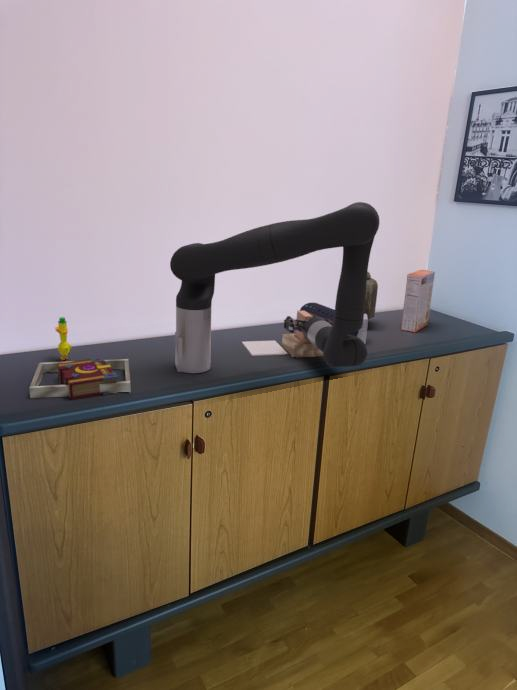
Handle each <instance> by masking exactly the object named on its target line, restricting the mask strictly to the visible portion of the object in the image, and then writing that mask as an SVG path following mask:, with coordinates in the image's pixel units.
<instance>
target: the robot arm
mask: <svg viewBox="0 0 517 690" xmlns="http://www.w3.org/2000/svg"><path fill="white" fill-rule="evenodd" d="M379 227H380V215H379V213H378V211H377V209H376V208H375V207H374V206H372V205H371V204H370V203H368V202H363V201H357V202H353V203H352V204H350V205H347V206H345V207H343V208H340V209H338V210H336V211H333V212H330V213H327V214H324V215H321V216H318V217H313V218H307V219H295V220H294V219H293V220H286V221H281V222H280V221H279V222H275V223H269V224H266V225H262V226H258V227H255V228H252V229H249V230H246V231H243V232H240V233H238V234H235V235H232V236H230V237H228V238H225V239H222V240H219V241H215V242H211V243H210V242H209V243H201V242H195V243H190V244H186V245H183V246H181V247H179V248H177V249H176V251H174V253H173V254H172V257H171V259H170V262H169V268H170V270H171V272H172V274H173V276H174V277H175V278H176V279H178V280H180V281H181V284H180V288H179V291H178V293H177V294H176V298H175V332H174V349H175V350H174V355H175V356H174V365H175V369H176V371H177V373H186V374H200V373H205V372H208V371H209V370H210V369H211V361H212V360H211V351H212V350H211V349H212V348H211V345H212V344H211V342H212V305H213V304H212V303H213V301H212V300H213V298H214V294H215V283H216V275H217V274H219V273H224V272H227V271H236V270H244V269H251V268H258V267H263V266H269V265H270V266H271V265H273V264H278V263H283V262H286V261H290V260H294V259H296V258H301V257H303V256H306V255H309V254H312V253H315V252H317V251H322V250H328V249H334V248H335V249H336V248H342V262H341V264H342V265H341V269H340V270H341V271H340V276H339V280H338V286H337V290H336V297H335V305H334V310H335V316H334V322H333V321H331V320H330V319H328V318H326V319H325V320H324V319H323V318H320V317H317V316H313V318H311V319H309V320H302V319H297V318H293V317H291V316H290V315H287V316H286V317H285V319H284V320H283V322H284V323H283V329H285V330H286V331H287V332H289V334H295V332H296V331H300V332H302V333H303V335H304V337H305V339H306V340H308V341H309V342H310V343H311V344H312V345H314V346H315V347H316V348H318V349H320V350H321V351H322V352H323V358H324V362H325V363H326V364H327V365H328V366H329V367H331V368H347V367H359V366H360V365H362V364H363V363H364V362H365V361H366V360H367V358H368V348H367V345H366V344H364V342H363V341H362V340H361V339H359V338H358V337H356V336H353V335H349V333H352V332H355V331H358V330H360V329H361V328H362V325H363V318H364V310H365V300H366V284H367V272H369V270H368V269H369V261H370V257H371V253H372V252H371V251H372V247H373V244H374V240H375V236H376V234H377V232H378V230H379ZM299 322H301V323H300V324H299Z"/></svg>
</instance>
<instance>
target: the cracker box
mask: <svg viewBox="0 0 517 690" xmlns="http://www.w3.org/2000/svg"><path fill="white" fill-rule="evenodd" d="M435 274H436V271H433V270H428V269H419V270H416V271H414V272H411V273H408V274H407V275H406V285H405V292H404V293H405V294H404V303H403V309H402V319H401V327H400V330H401V331H403V330H404V332H410V333H417V332H419V331H420V330H422V329H424V328H425V327H426V326H428V325H429V317H430V310H431V303H432V297H433V296H432V295H433V288H434V283H435V282H434V280H435Z"/></svg>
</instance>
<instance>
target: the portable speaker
mask: <svg viewBox="0 0 517 690" xmlns="http://www.w3.org/2000/svg"><path fill="white" fill-rule="evenodd" d="M299 311H306V312H307V313H309V314H310V315H312V316H317V317H320V318H323V319H324V320H325V319H326V318H328V319H330V320H331V321H333V322H334V316H335V308H334V309H333V308H331V307H329V306H326V305H323V304H320V303H319V302H318V303H317V302H307V303H305V304H303V305H302V306H301V307H300V309H299ZM358 331H359V330H358ZM358 331H355V332H352V333H349V335H353V336H357V334H358Z"/></svg>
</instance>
